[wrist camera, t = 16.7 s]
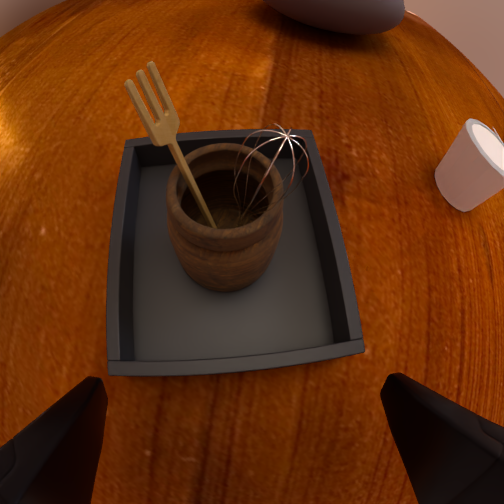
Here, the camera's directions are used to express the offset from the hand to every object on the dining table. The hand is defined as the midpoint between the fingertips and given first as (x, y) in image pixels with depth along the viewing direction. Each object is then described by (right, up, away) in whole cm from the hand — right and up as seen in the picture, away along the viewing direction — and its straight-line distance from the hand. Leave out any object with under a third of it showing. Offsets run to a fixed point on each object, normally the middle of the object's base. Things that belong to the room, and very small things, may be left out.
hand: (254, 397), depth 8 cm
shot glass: (+20, +11, +16) cm, 28 cm away
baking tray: (-2, +4, +11) cm, 12 cm away
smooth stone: (+12, +43, +28) cm, 53 cm away
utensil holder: (-2, +4, +11) cm, 12 cm away
